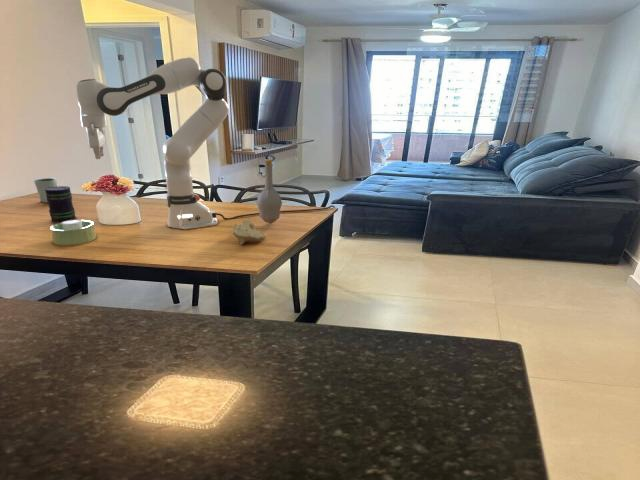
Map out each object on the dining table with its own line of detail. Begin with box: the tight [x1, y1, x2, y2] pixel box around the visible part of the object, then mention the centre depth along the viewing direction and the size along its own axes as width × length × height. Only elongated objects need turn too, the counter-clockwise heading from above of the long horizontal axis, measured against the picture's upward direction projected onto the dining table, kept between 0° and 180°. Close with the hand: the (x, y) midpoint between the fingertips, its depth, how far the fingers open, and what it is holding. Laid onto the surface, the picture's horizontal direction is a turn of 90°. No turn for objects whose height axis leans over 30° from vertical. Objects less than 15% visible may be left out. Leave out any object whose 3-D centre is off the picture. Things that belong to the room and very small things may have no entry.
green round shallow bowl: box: [49, 219, 97, 247], centre depth 152 cm, size 15×15×6 cm
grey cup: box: [33, 177, 58, 204], centre depth 212 cm, size 10×10×12 cm
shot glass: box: [60, 219, 82, 230], centre depth 152 cm, size 7×7×7 cm
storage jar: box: [45, 185, 77, 223], centre depth 177 cm, size 10×10×15 cm
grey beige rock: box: [231, 218, 267, 246], centre depth 153 cm, size 15×7×15 cm
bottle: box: [256, 159, 283, 225], centre depth 176 cm, size 11×11×30 cm
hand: (99, 157), depth 158 cm, fingers open, 8 cm apart
